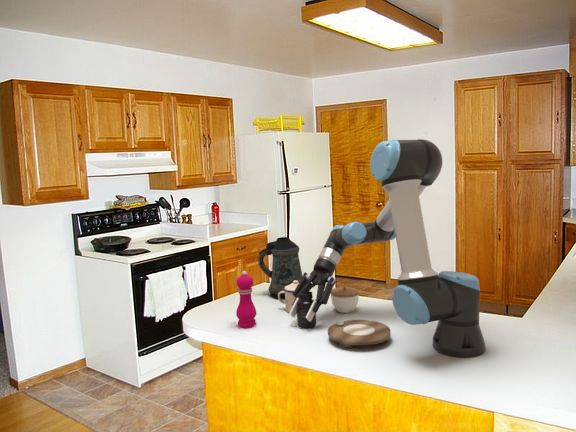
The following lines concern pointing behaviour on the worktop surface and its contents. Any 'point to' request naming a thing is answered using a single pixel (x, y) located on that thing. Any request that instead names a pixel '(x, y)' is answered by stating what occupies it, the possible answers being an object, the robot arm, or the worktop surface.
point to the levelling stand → (358, 333)
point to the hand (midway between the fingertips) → (299, 317)
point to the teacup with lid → (289, 295)
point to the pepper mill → (245, 302)
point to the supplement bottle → (305, 310)
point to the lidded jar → (344, 299)
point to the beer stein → (281, 265)
